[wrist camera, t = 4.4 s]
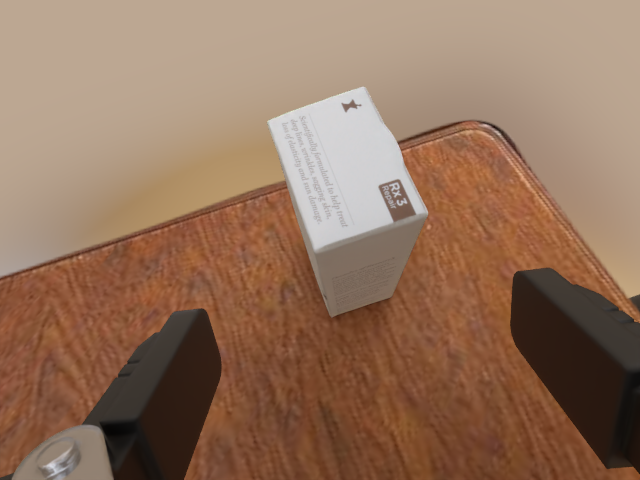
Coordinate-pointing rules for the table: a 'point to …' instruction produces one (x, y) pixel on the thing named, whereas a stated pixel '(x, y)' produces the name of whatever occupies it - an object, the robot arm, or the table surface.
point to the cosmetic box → (349, 197)
